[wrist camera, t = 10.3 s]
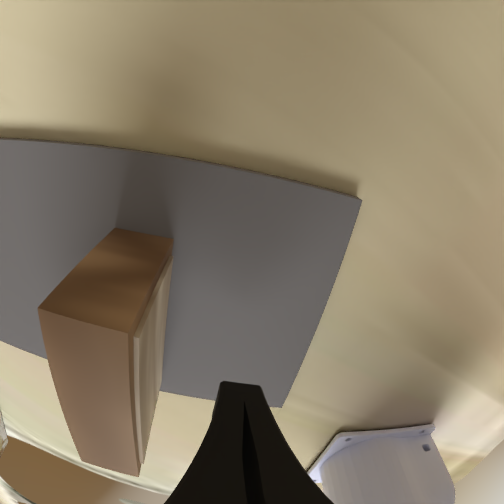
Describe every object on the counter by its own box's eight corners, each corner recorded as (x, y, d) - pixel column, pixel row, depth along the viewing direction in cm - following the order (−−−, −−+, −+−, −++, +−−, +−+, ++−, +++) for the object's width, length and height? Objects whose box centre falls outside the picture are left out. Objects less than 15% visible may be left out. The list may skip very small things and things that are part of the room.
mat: (357, 196, 12) (362, 200, 12) (280, 400, 17) (281, 407, 16) (-18, 137, 10) (-26, 138, 10) (1, 333, 15) (-3, 339, 14)
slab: (177, 239, 12) (134, 334, 7) (162, 380, 15) (142, 478, 10) (114, 227, 12) (37, 307, 6) (115, 369, 15) (81, 461, 9)
